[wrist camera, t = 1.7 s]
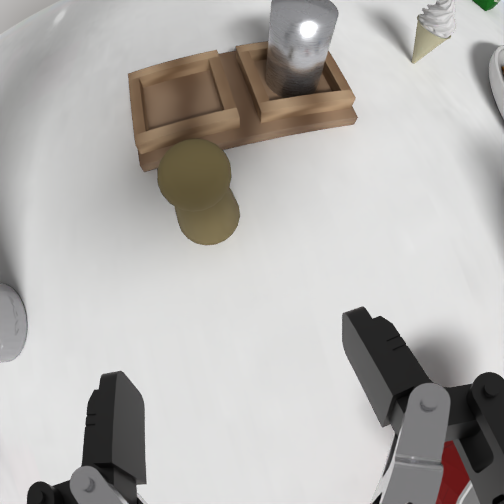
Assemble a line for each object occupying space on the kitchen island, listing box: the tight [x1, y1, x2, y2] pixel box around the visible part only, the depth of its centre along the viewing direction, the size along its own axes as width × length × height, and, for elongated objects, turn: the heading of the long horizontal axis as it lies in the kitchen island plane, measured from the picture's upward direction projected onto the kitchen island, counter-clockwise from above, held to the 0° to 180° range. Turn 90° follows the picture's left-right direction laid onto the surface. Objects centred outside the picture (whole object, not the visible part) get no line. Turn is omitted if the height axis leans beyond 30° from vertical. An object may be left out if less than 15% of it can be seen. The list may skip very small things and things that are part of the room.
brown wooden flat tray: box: [128, 41, 358, 172], centre depth 32 cm, size 24×13×4 cm, turn 106°
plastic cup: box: [436, 440, 480, 504], centre depth 20 cm, size 11×11×12 cm
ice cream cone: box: [412, 0, 456, 64], centre depth 29 cm, size 5×5×15 cm
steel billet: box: [266, 0, 338, 98], centre depth 27 cm, size 6×6×11 cm
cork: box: [158, 139, 240, 245], centre depth 26 cm, size 6×6×11 cm
